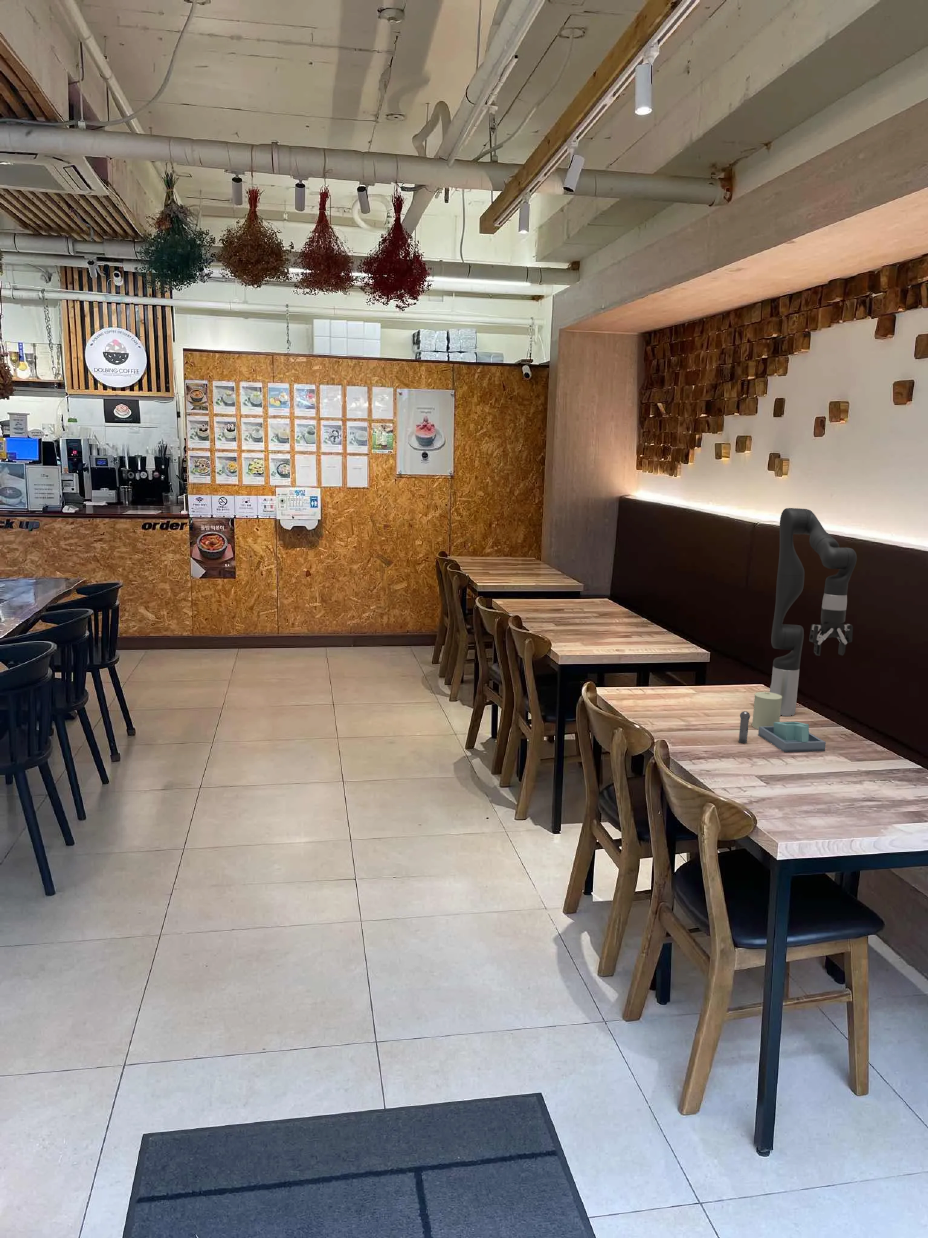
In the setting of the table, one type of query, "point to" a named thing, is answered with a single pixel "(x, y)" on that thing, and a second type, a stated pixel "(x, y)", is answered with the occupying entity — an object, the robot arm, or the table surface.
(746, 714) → the dark grey peg
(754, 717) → the can
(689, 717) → the table surface
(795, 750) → the tray
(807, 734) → the teal block with hole
